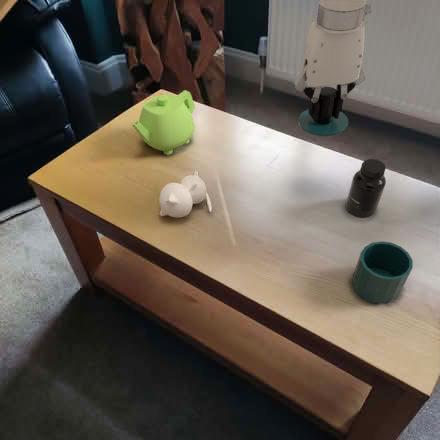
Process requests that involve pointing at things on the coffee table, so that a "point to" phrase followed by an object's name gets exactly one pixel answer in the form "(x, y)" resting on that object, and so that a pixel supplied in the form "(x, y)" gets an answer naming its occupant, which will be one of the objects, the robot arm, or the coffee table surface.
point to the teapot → (166, 121)
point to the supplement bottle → (366, 189)
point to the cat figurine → (183, 196)
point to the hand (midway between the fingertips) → (324, 115)
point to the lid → (324, 116)
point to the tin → (381, 272)
